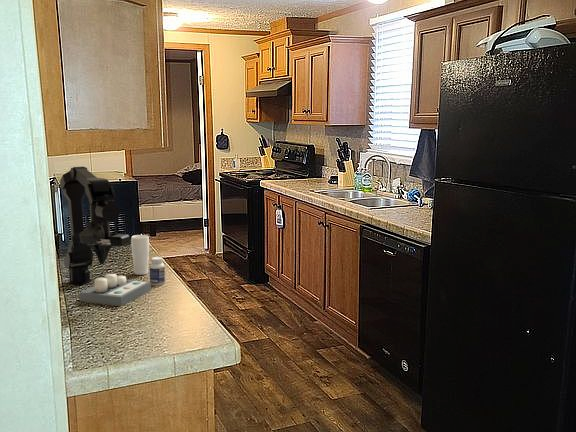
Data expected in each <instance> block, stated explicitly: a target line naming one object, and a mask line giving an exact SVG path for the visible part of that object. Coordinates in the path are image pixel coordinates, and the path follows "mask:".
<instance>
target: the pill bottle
mask: <svg viewBox="0 0 576 432" xmlns="http://www.w3.org/2000/svg"><path fill="white" fill-rule="evenodd" d="M150 261H151V263H150V264H149V282H151V286H162V285H163V286H164V284H166V283H165V282H166V279H165V278H166V277H165V273H166V272H165V270H166V269H165V267H166V266H165V263H163V257H160V256H154V257H151V260H150Z"/></svg>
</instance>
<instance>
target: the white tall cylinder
mask: <svg viewBox="0 0 576 432" xmlns="http://www.w3.org/2000/svg"><path fill="white" fill-rule="evenodd" d="M130 243H131V244H130V246H131V255H132V261H133V272H134V275H136V276H144V275H147V274H148V273H149V257H150V237H149V235H147V234H136V235H132V236H131V237H130Z"/></svg>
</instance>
